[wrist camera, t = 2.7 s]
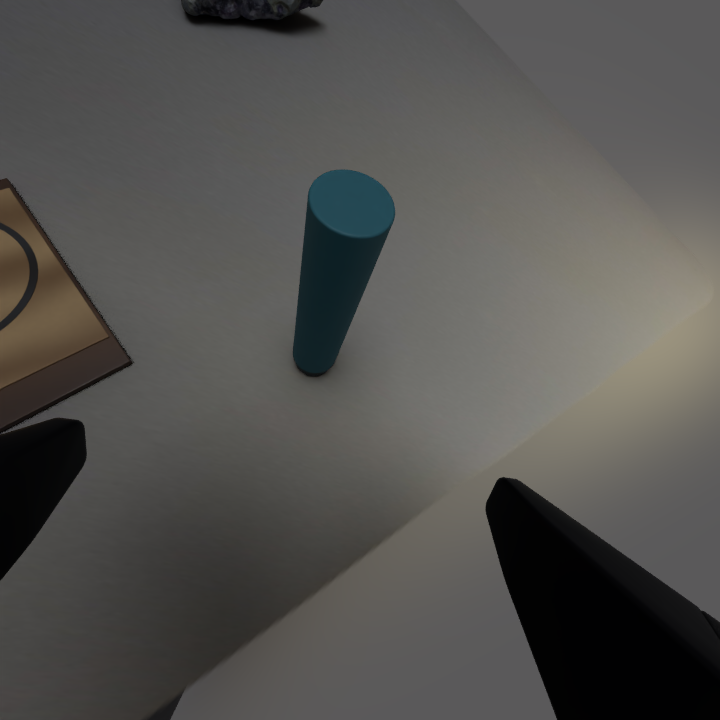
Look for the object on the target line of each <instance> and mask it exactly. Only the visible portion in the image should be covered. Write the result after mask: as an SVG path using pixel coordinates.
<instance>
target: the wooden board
mask: <svg viewBox="0 0 720 720" xmlns="http://www.w3.org/2000/svg"><path fill="white" fill-rule="evenodd" d="M130 364H132V361H131V360H130V358H129V357H128V355H127V354H126V352H125V351H124V349H123V348H122V346H121V345H120V343H119V342H118V340H117V339H116V337H115V336H114V334H113V333H112V331H111V330H110V329H109V327H108V326H107V324H106V323H105V321H104V320H103V318H102V317H101V315H100V314H99V312H98V311H97V309H96V308H95V306H94V305H93V303H92V302H91V300H90V299H89V298H88V296H87V295H86V293H85V292H84V290H83V289H82V287H81V286H80V284H79V283H78V281H77V280H76V278H75V277H74V275H73V274H72V272H71V271H70V269H69V268H68V267H67V265H66V264H65V262H64V261H63V259H62V258H61V256H60V255H59V253H58V252H57V250H56V249H55V247H54V246H53V244H52V243H51V241H50V240H49V238H48V237H47V236H46V234H45V233H44V231H43V230H42V228H41V227H40V225H39V224H38V222H37V221H36V219H35V218H34V216H33V215H32V213H31V212H30V210H29V209H28V207H27V206H26V205H25V203H24V202H23V200H22V199H21V197H20V196H19V194H18V193H17V191H16V190H15V188H14V187H13V185H12V184H11V182H10V181H9V180H8V179H7V178H5V179H2V180H0V433H1V432H2V431H4V430H6V429H8V428H10V427H12V426H14V425H16V424H18V423H20V422H22V421H23V420H25V419H27V418H29V417H31V416H33V415H35V414H37V413H39V412H41V411H42V410H44V409H46V408H48V407H50V406H52V405H54V404H56V403H58V402H60V401H62V400H63V399H65V398H67V397H69V396H71V395H73V394H75V393H77V392H79V391H81V390H82V389H84V388H86V387H88V386H90V385H92V384H94V383H96V382H98V381H100V380H102V379H103V378H105V377H107V376H109V375H111V374H113V373H115V372H117V371H119V370H121V369H123V368H124V367H126V366H128V365H130Z"/></svg>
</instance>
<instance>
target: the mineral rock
mask: <svg viewBox="0 0 720 720" xmlns="http://www.w3.org/2000/svg"><path fill="white" fill-rule="evenodd" d="M322 1H323V0H181V2H182V6H183V8H184V10H185V11H186V12H187V13H189V14H191V15H194V16H197V15H200V14H201V15H210V16H220V17H221V18H223V19H235V18H239V17H240V16H243V17H245V18H246V19H249V20H255V19H260V18H261V19H273V20H280V19H283V18H284V17H286V16H289V15H291V14H293V13H295V12H298V11H300V10H302V9H305V8H307V7H310V8H311V7H318V6H320V4H321V3H322Z"/></svg>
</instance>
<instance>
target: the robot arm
mask: <svg viewBox="0 0 720 720" xmlns="http://www.w3.org/2000/svg"><path fill="white" fill-rule="evenodd" d="M86 456H87V451H86V439H85V428H84V425H83V423H82V422H81V421H79V420H73V419H66V418H53V419H50V420H47V421H44V422H40V423H37V424H34V425H31V426H27V427H24V428H21V429H18V430H15V431H11V432H8V433H5V434H2V435H0V580H1V579H2V578H3V577H4V576H5V574H6V573H7V572H8V571H9V569H10V568H11V567H12V566H13V565H14V563H15V562H16V561H17V560H18V558H19V557H20V556H21V555H22V554H23V552H24V551H25V550H26V548H27V547H28V546H29V545H30V543H31V542H32V541H33V539H34V538H35V536H36V535H37V534H38V532H39V531H40V530H41V528H42V527H43V525H44V524H45V522H46V521H47V519H48V518H49V516H50V515H51V513H52V512H53V510H54V509H55V507H56V506H57V504H58V503H59V501H60V500H61V499H62V497H63V496H64V494H65V493H66V491H67V490H68V488H69V487H70V485H71V484H72V482H73V481H74V479H75V478H76V476H77V475H78V473H79V472H80V470H81V469H82V467H83V466H84V463H85V461H86ZM486 515H487V519H488V522H489V525H490V529H491V533H492V536H493V540H494V544H495V547H496V551H497V554H498V558H499V562H500V565H501V568H502V572H503V575H504V578H505V581H506V584H507V587H508V590H509V593H510V595H511V598H512V601H513V603H514V606H515V609H516V611H517V614H518V617H519V619H520V622H521V625H522V627H523V630H524V633H525V635H526V638H527V641H528V643H529V646H530V648H531V651H532V654H533V657H534V659H535V662H536V664H537V667H538V670H539V672H540V675H541V678H542V680H543V683H544V686H545V689H546V691H547V693H548V696H549V699H550V702H551V704H552V707H553V710H554V712H555V715H556V718H557V720H720V622H718V621H717V620H716V619H714V618H713V617H711V616H710V615H709V614H707V613H706V612H704V611H701V610H700V609H699V608H698V607H697V606H696V605H694V604H693V603H692V602H690V601H689V600H687V599H686V598H685V597H683V596H682V595H680V594H679V593H677V592H676V591H675V590H673V589H672V588H670V587H669V586H668V585H666V584H665V583H663V582H662V581H660V580H659V579H658V578H656V577H655V576H653V575H652V574H651V573H649V572H648V571H646V570H645V569H644V568H642V567H641V566H639V565H638V564H636V563H635V562H634V561H632V560H631V559H629V558H628V557H626V556H625V555H624V554H622V553H621V552H619V551H618V550H616V549H615V548H614V547H612V546H611V545H610V544H608V543H607V542H605V541H604V540H602V539H601V538H600V537H598V536H597V535H595V534H594V533H593V532H591V531H590V530H588V529H587V528H586V527H584V526H583V525H581V524H580V523H579V522H577V521H576V520H574V519H573V518H571V517H570V516H569V515H567V514H566V513H564V512H563V511H562V510H560V509H559V508H557V507H556V506H554V505H553V504H552V503H550V502H549V501H547V500H546V499H544V498H543V497H542V496H540V495H539V494H537V493H536V492H534V491H533V490H532V489H530V488H529V487H528V486H526V485H525V484H523V483H522V482H521V481H518V480H517V479H512V478H505V477H502V478H499V479H498V480H497V482H496V484H495V486H494V488H493V490H492V492H491V494H490V496H489V498H488V500H487V502H486Z"/></svg>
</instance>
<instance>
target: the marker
mask: <svg viewBox="0 0 720 720" xmlns="http://www.w3.org/2000/svg"><path fill="white" fill-rule="evenodd" d="M394 218H395V207H394V203H393V200H392V198H391V196H390V194H389V193H388V191H387V190H386V189H385V188H384V187H383V186H382V185H381V184H380V183H379V182H378V181H376V180H375V179H373V178H371V177H369V176H368V175H365V174H363V173H360V172H357V171H352V170H334V171H329V172H326V173H324V174H322V175H321V176H319V177H318V178H317V179H316V180H315V181H314V182H313V183H312V185H311V187H310V189H309V192H308V202H307V212H306V222H305V233H304V243H303V253H302V264H301V274H300V284H299V294H298V305H297V315H296V325H295V336H294V346H293V357H294V360H295V362H296V365H297V367H298V369H299V370H300V371H301V372H302V373H304V374H306V375H308V376H319V375H322V374H323V373H325V372H326V371H327V370H328V369H329V368H330V367H331V366H332V365H333V364H334V362H335V360H336V357H337V355H338V353H339V350H340V348H341V345H342V343H343V341H344V338H345V336H346V334H347V331H348V329H349V326H350V324H351V322H352V319H353V317H354V314H355V312H356V310H357V307H358V305H359V302H360V300H361V298H362V295H363V293H364V291H365V288H366V286H367V283H368V281H369V279H370V276H371V274H372V271H373V269H374V267H375V264H376V262H377V259H378V257H379V255H380V252H381V250H382V248H383V245H384V243H385V240H386V238H387V236H388V233H389V231H390V228H391V226H392V224H393V221H394Z"/></svg>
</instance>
